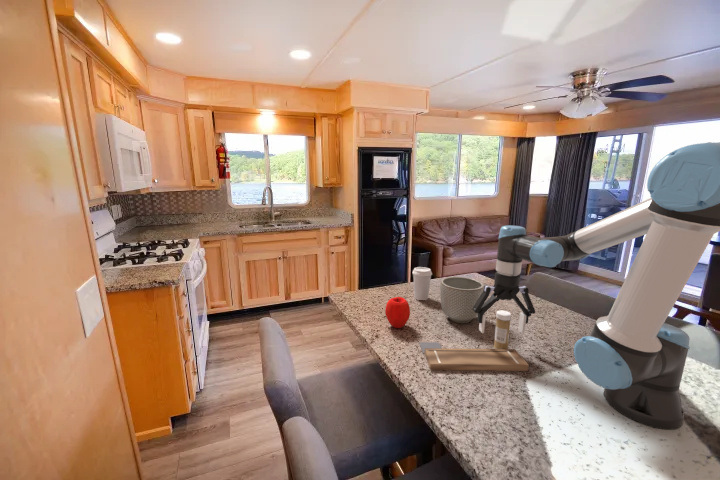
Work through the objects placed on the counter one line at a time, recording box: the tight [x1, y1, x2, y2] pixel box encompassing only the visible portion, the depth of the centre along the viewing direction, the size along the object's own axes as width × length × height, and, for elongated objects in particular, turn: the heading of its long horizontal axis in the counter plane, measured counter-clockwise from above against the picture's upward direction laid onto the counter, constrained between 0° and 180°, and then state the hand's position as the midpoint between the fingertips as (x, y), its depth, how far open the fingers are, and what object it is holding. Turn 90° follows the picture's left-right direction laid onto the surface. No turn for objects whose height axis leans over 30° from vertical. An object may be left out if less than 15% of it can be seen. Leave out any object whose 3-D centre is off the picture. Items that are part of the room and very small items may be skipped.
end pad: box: [418, 341, 442, 355], centre depth 107 cm, size 7×7×1 cm
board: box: [424, 347, 530, 372], centre depth 99 cm, size 9×30×2 cm, turn 89°
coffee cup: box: [412, 266, 433, 301], centre depth 151 cm, size 10×10×15 cm
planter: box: [439, 276, 485, 324], centre depth 128 cm, size 17×17×16 cm
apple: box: [384, 296, 411, 329], centre depth 122 cm, size 10×10×12 cm
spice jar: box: [493, 309, 512, 349], centre depth 105 cm, size 5×5×14 cm
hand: (501, 331), depth 106 cm, fingers open, 13 cm apart
